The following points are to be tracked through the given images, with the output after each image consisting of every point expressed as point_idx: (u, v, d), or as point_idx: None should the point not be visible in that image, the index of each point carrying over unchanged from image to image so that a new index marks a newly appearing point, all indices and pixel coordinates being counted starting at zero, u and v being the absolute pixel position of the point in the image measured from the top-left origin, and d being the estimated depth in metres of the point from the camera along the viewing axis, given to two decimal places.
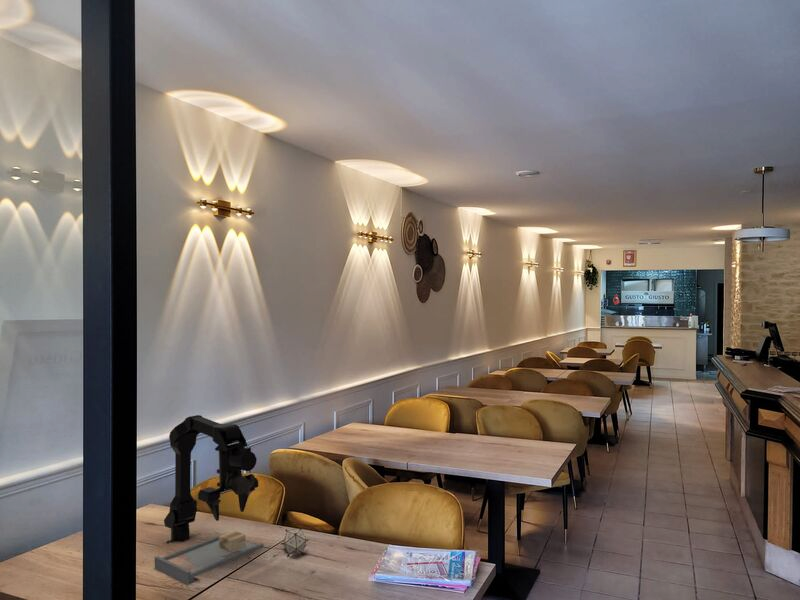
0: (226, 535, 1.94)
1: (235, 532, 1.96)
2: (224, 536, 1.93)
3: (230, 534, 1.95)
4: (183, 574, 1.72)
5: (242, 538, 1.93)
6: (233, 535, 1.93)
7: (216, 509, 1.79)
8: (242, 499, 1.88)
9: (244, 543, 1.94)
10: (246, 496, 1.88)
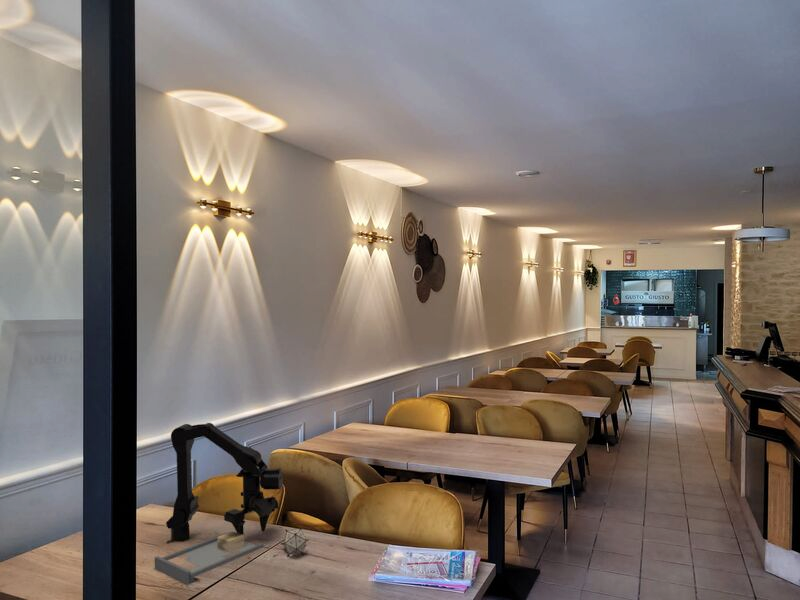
0: (224, 535, 1.93)
1: (233, 533, 1.95)
2: (222, 537, 1.92)
3: (228, 534, 1.94)
4: (183, 574, 1.72)
5: (240, 539, 1.93)
6: (232, 536, 1.93)
7: (241, 529, 1.95)
8: (263, 519, 2.04)
9: (242, 544, 1.93)
10: (267, 517, 2.03)
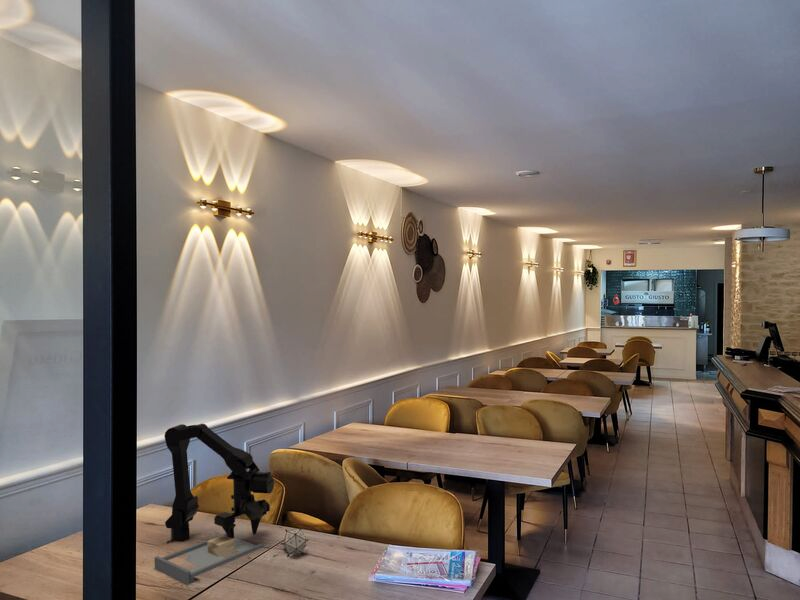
0: (214, 539, 1.90)
1: (224, 537, 1.92)
2: (212, 541, 1.89)
3: (218, 538, 1.91)
4: (183, 574, 1.72)
5: (231, 543, 1.89)
6: (222, 540, 1.90)
7: (231, 533, 1.92)
8: (254, 522, 2.01)
9: (233, 548, 1.90)
10: (258, 520, 2.00)
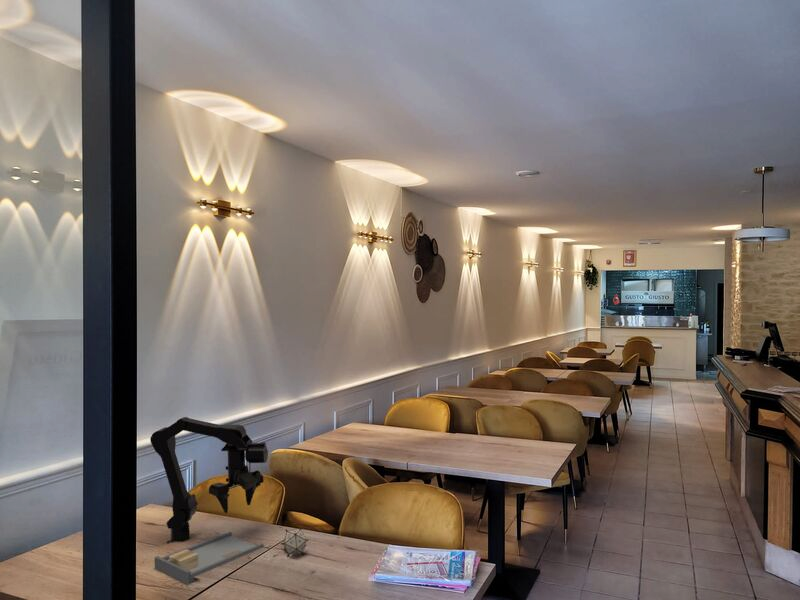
0: (176, 554, 1.80)
1: (187, 551, 1.82)
2: (174, 556, 1.78)
3: (181, 553, 1.80)
4: (183, 574, 1.72)
5: (194, 558, 1.79)
6: (185, 555, 1.79)
7: (225, 502, 1.96)
8: (249, 493, 2.05)
9: (196, 563, 1.79)
10: (252, 491, 2.05)
